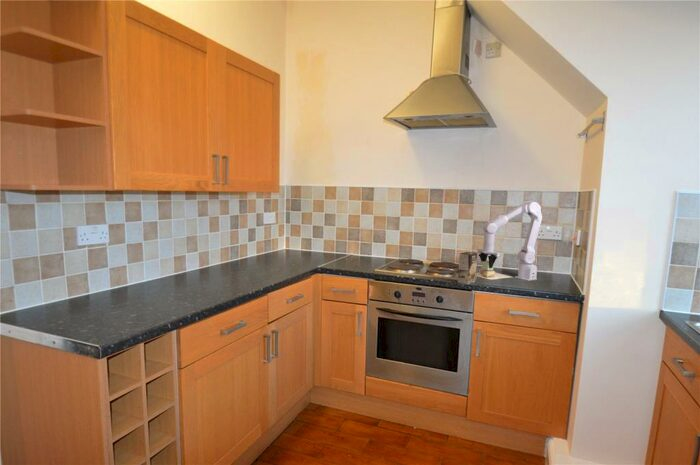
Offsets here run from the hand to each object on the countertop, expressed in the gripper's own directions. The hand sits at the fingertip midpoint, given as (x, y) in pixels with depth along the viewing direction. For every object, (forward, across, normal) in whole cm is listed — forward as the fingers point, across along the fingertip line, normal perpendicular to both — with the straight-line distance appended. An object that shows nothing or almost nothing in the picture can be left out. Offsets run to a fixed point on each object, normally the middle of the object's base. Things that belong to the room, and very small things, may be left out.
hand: (487, 267), depth 233 cm
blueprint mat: (+6, -1, +5) cm, 8 cm away
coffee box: (+6, +5, -21) cm, 22 cm away
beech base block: (+6, 0, 0) cm, 6 cm away
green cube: (+1, 0, 0) cm, 1 cm away
